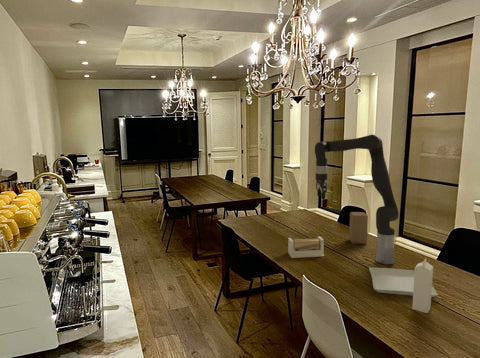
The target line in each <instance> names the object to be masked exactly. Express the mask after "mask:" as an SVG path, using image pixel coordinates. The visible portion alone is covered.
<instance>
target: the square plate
mask: <svg viewBox="0 0 480 358" xmlns="http://www.w3.org/2000/svg"><path fill="white" fill-rule="evenodd" d="M368 271H369V273H370V275H371V280H372V287H373V290H374V291H375V292H377V293H382V294H389V295H390V294H391V295H392V294H393V295H402V296H411V297H413V289H414V273H415V269H414V270H412V269H401V268H389V267H368ZM438 295H439V294H438V292H437V291H436V289H435V287H434V286H433V285H432V294H431V298H434V297H437V296H438Z"/></svg>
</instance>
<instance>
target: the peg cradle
mask: <svg viewBox="0 0 480 358" xmlns="http://www.w3.org/2000/svg"><path fill="white" fill-rule="evenodd" d="M317 239H318V240H319V249H296V250H295V249H294V247H293V238H291V237H288V239H287V240H288V241H287V242H288V243H287V245H288V246H287V247H288V248H287V249H288V251H287V253H288V256H290V258H291V259H296V258H316V257H325V254H324V246H325V242H324V241H325V240H324V238H323V237H322V236H317Z"/></svg>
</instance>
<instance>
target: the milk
mask: <svg viewBox="0 0 480 358" xmlns="http://www.w3.org/2000/svg"><path fill="white" fill-rule="evenodd" d="M414 271H415V273H414V289H413V296H412V306H411V307H412V310H415V311H418V312H422V313H425V314H428V313H429V312H430V309H431V306H432V305H431V304H432V297H431V294H432V286H433V279H434V278H433V276H434V265H432V264H430V263H429V262H428V261H427V258H425V259H423V261H421V262H419V263H417V264H416V265H415V267H414Z"/></svg>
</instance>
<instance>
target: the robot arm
mask: <svg viewBox="0 0 480 358" xmlns="http://www.w3.org/2000/svg"><path fill="white" fill-rule="evenodd" d="M383 146H384V144H383V140H382V137H380V136H378V135H376V134H369V135H365V136H362V137H356V138H346V139H337V140H328V141H318V142H316V143H315V146H314V155H315V160H316V161H315V181H316V183H315V189H316V195H317V197H321V199H325V198H326V193H327V192H328V190H327V187H328V186H327V185H328V184H327V182H326V181H327V180H328V172H329V171H328V169H329V168H328V157H326V153H330V152H335V153H336V152H346V151H350V150H357V149H358V150H359V149H360V150H368V152H369V155H370V160H371V168H370V169H371V170H370V174H371V179H372V183H373V186H374V188H375V190H376V191H377V192H378V193H379V195H380V196H381V198H382V202H383V206H382V205H381V206H379V207H378V208H377V209H376V213H375V226H376V227H375V228H376V231H377V232H376V234H377V235H376V249H375V250H376V254H375V255H376V257H375V261H376V262H377V263H379V264H381V265H394V260H395V248H394V247H395V228H393V227H392V226H391V225H390V224H391V223H390V222H393V221H397V220H398V218H399V209H398V206H397V202H396V200H395V196H394V193H393V188H392V185H391V179H390V174H389V170H388V166H387V163H386V160H385V155H384V154H385V153H384V147H383Z"/></svg>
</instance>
